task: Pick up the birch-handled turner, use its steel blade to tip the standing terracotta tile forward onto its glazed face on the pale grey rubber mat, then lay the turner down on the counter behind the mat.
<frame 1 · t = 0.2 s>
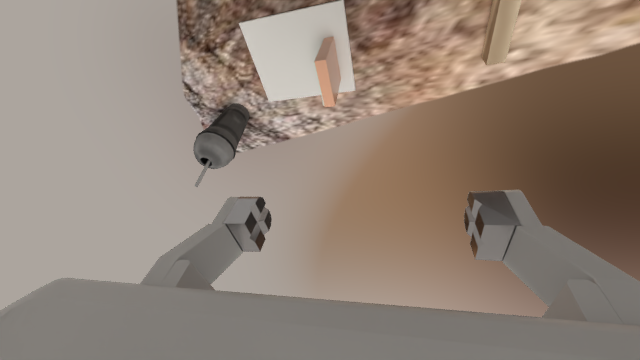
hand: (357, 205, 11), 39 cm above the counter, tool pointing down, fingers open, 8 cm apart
turner: (497, 19, 37), on the counter
mat: (301, 57, 45), on the counter
beverage cup: (239, 112, 56), on the counter
tile: (329, 71, 41), point 5 cm above the counter, touching mat
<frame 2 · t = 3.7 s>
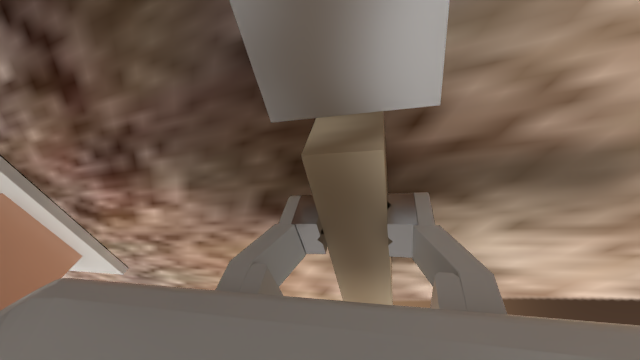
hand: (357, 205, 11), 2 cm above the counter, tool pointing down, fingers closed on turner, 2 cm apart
turner: (363, 203, 13), on the counter, touching gripper
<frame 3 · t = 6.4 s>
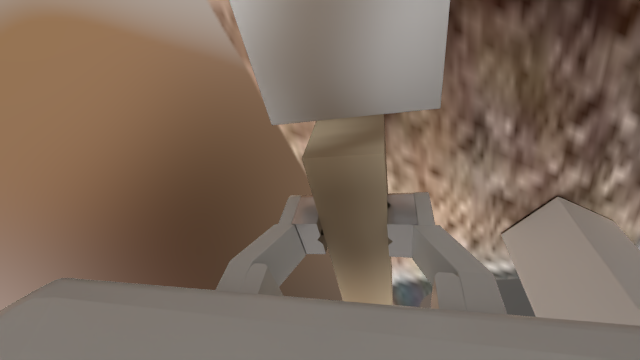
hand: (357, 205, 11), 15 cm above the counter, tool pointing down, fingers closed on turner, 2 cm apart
turner: (363, 205, 13), point 13 cm above the counter, touching gripper
milk carton: (552, 225, 29), on the counter
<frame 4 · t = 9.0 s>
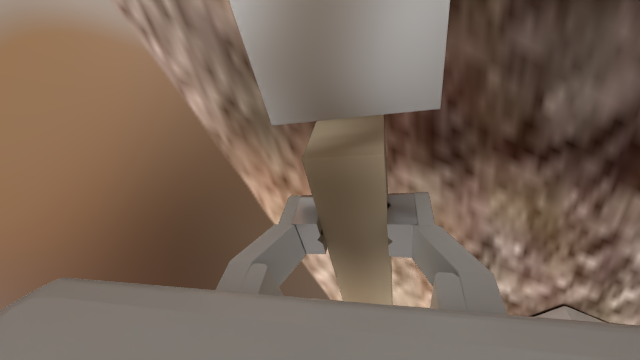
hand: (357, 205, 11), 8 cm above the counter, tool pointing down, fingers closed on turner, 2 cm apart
turner: (363, 205, 13), point 6 cm above the counter, touching gripper
milk carton: (556, 324, 28), on the counter
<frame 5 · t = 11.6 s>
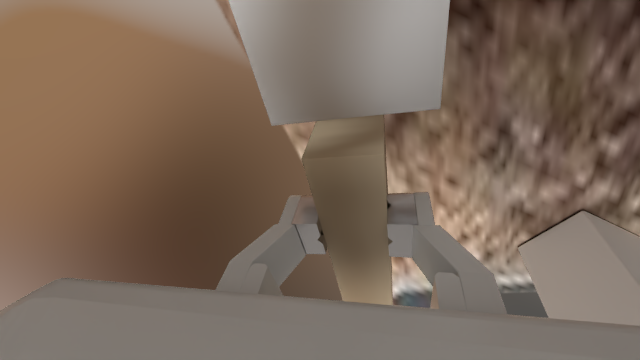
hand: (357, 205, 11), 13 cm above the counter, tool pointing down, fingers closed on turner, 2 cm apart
turner: (363, 205, 13), point 12 cm above the counter, touching gripper
milk carton: (573, 240, 27), on the counter
when the fingers open (2 cm above the counter, at t = 13.6 s): turner stays where it is, on the counter.
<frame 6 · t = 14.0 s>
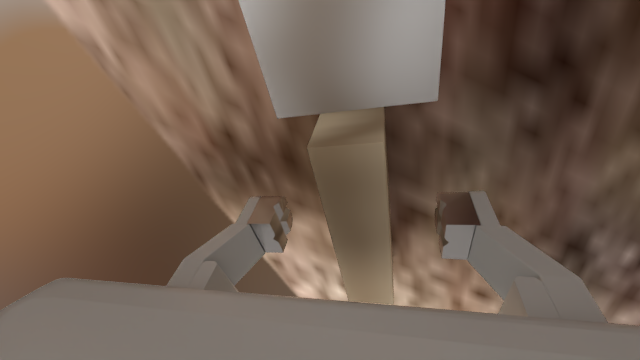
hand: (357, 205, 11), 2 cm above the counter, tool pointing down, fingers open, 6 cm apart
turner: (364, 196, 13), on the counter
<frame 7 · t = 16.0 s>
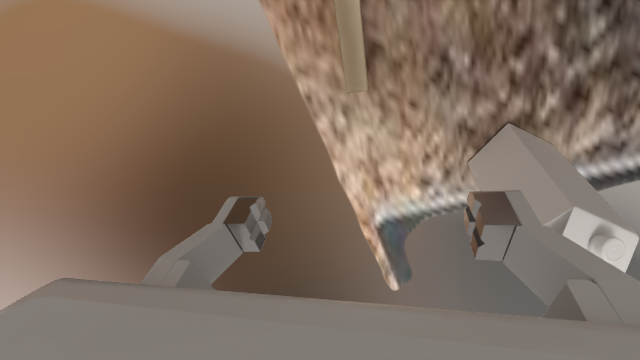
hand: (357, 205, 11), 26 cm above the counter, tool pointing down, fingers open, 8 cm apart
turner: (353, 39, 30), on the counter
milk carton: (506, 152, 36), on the counter
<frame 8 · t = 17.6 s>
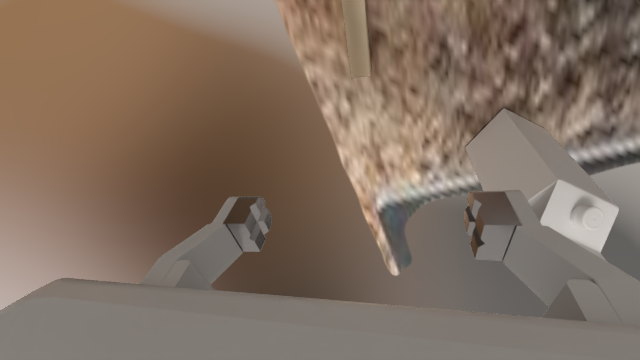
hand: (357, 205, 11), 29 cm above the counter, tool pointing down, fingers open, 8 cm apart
turner: (358, 27, 32), on the counter
milk carton: (502, 137, 38), on the counter
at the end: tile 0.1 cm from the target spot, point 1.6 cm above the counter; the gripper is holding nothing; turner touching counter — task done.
